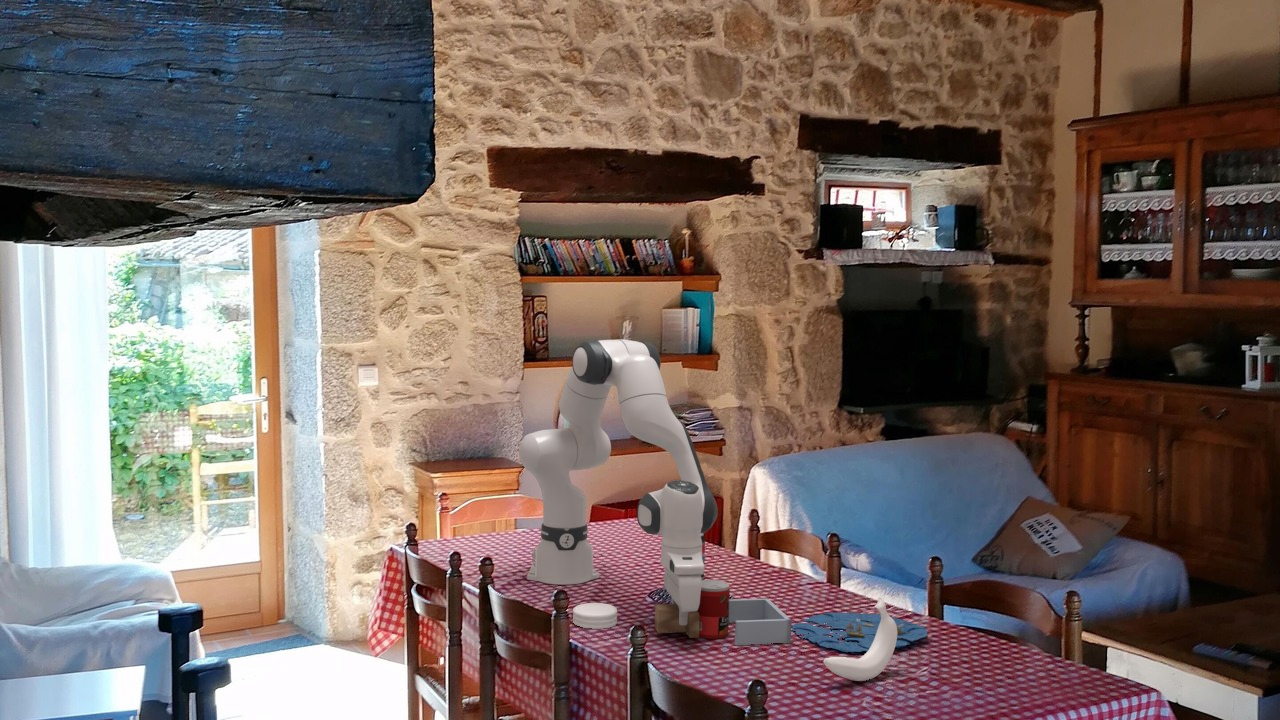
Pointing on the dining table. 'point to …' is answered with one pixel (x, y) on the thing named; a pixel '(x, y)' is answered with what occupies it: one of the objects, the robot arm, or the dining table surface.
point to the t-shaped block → (675, 620)
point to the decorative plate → (854, 630)
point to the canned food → (714, 609)
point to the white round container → (595, 615)
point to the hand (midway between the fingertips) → (680, 620)
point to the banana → (869, 652)
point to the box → (758, 622)
